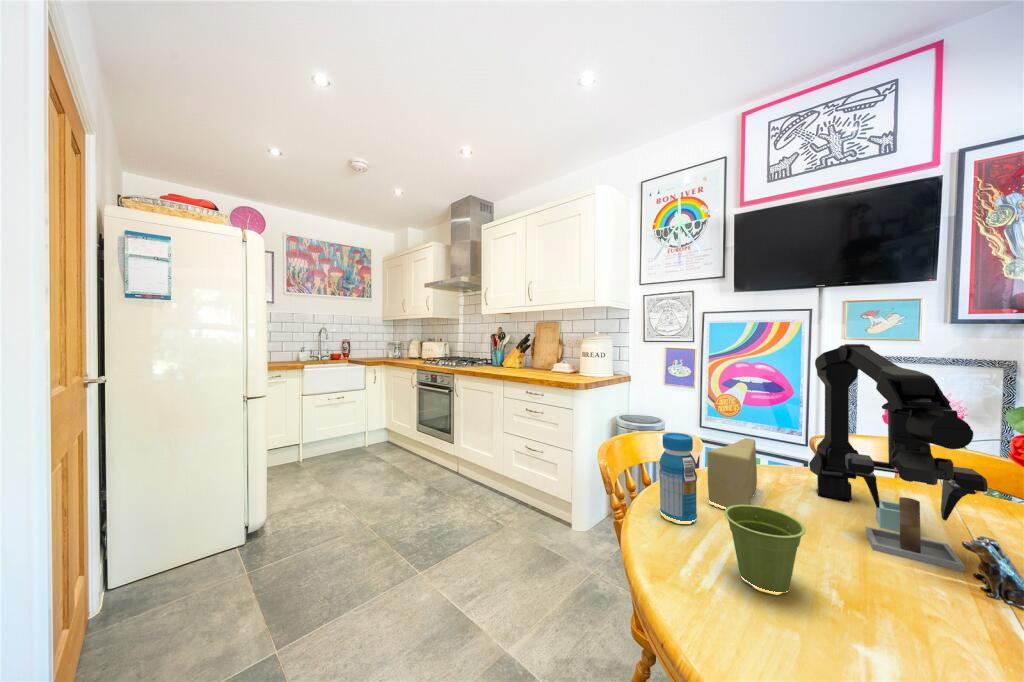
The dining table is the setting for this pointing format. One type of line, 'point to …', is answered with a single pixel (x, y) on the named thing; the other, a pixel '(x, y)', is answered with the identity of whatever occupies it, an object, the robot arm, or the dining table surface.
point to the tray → (929, 552)
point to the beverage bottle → (678, 478)
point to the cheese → (732, 473)
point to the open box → (888, 515)
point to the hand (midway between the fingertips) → (909, 513)
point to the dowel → (910, 524)
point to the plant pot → (765, 545)
